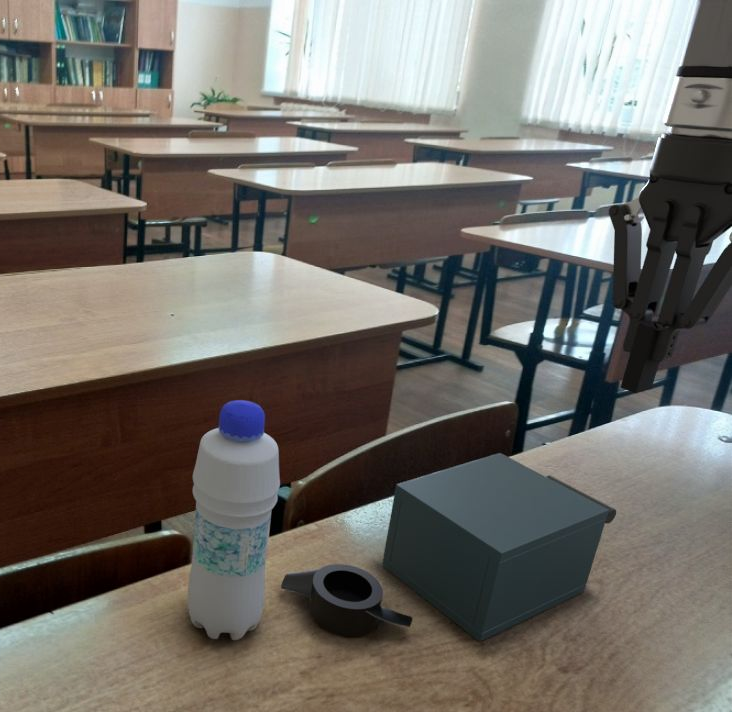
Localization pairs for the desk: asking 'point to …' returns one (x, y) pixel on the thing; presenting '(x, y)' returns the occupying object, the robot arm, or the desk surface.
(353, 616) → the black winged ring
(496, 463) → the cabinet
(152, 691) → the desk surface
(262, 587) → the bottle
